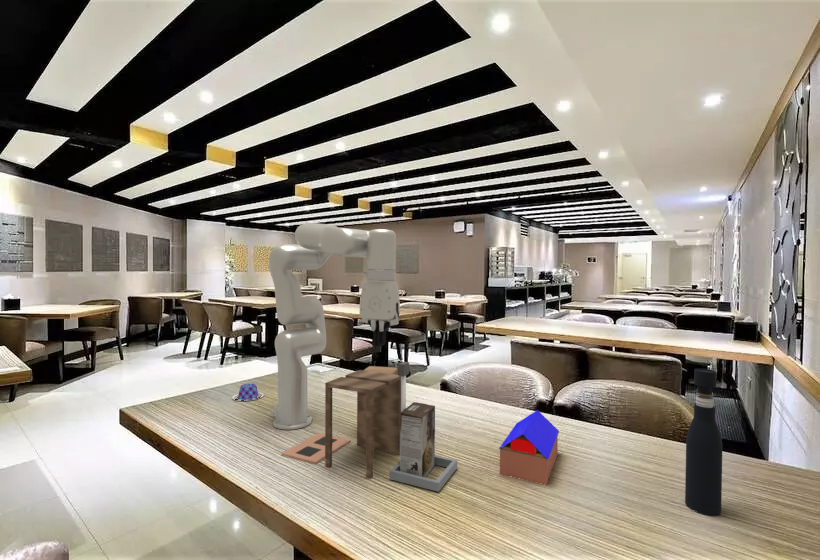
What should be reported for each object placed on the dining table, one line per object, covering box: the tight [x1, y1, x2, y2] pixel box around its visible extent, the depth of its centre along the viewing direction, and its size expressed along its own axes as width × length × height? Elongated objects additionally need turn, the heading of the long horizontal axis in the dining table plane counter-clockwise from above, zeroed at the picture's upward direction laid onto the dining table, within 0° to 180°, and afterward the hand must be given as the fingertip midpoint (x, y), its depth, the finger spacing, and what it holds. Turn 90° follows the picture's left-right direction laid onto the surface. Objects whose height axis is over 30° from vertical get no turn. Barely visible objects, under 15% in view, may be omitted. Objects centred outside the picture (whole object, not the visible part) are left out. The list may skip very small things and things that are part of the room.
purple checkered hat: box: [231, 383, 265, 402], centre depth 165 cm, size 12×12×5 cm
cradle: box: [388, 361, 458, 492], centre depth 102 cm, size 13×13×27 cm
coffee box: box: [399, 401, 436, 478], centre depth 104 cm, size 9×6×16 cm
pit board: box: [280, 432, 351, 465], centre depth 117 cm, size 12×16×1 cm
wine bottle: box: [684, 368, 723, 517], centre depth 88 cm, size 6×6×30 cm
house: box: [498, 409, 560, 485], centre depth 109 cm, size 12×20×12 cm, turn 153°
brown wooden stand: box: [324, 369, 401, 480], centre depth 110 cm, size 14×16×22 cm
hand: (379, 345), depth 108 cm, fingers closed
